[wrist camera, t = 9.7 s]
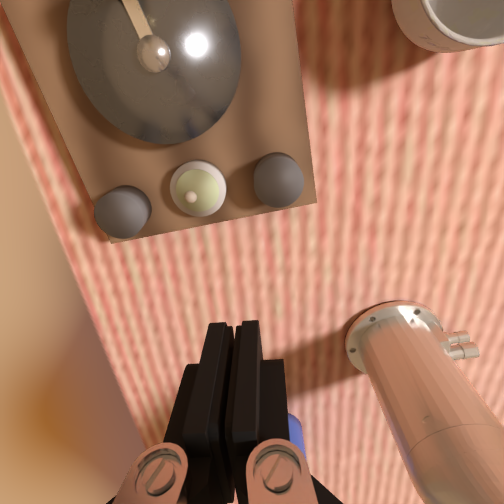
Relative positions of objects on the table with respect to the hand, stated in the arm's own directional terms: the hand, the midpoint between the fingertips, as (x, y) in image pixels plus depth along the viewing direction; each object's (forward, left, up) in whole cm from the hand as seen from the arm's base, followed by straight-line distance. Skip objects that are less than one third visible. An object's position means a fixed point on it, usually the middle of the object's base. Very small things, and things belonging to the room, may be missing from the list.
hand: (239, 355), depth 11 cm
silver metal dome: (+5, -12, -22) cm, 26 cm away
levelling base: (+5, -8, -25) cm, 26 cm away
